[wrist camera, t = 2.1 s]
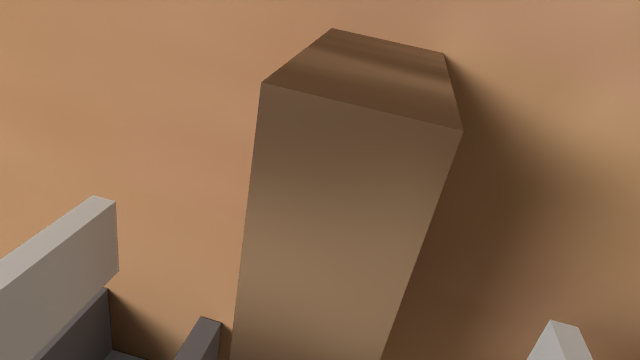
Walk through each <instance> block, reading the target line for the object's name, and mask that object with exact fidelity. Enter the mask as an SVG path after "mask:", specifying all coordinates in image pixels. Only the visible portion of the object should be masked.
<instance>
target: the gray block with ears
mask: <svg viewBox="0 0 640 360" xmlns="http://www.w3.org/2000/svg"><path fill="white" fill-rule="evenodd" d="M220 330H221V323H220V322H217V321H213V320H210V319H207V318H203V317H200V318H199V320H198V321H197V323H196V324H195V326H194V328H193V329H192V331H191V333H190V334H189V336H188V337H187V339H186V341H185V342H184V344H183V345H182V347H181V349H180V350H179V352H178V354H177V355H176V357H175V358H174V360H218V352H219V341H220ZM31 360H144V359H141V358H138V357H135V356H132V355H128V354H125V353H122V352H119V351H116V350H113V348H112V336H111V324H110V312H109V300H108V289H106V288H102V289H101V290H100V291H99V292H98V293H97V294H96V295H95V296H94V297H93V298H92V299H91V300H90V301H89V302H88V303H87V304H86V305H85V306H84V307H83V308H82V309H81V310H80V311H79V312H78V313H77V314H76V315H75V316H74V317H73V318H72V319H71V320H70V321H69V322H68V323H67V324H66V325H65V326H64V327H63V328H62V329H61V330H60V331H59V332H58V333H57V334H56V335H55V336H54V337H53V338H52V339H51V340H50V341H49V342H48V343H47V344H46V345H45V346H44V347H43V348H42V349H41V350H40V351H39V352H38V353H37V354H36V355H35V356H34V357H33V358H32V359H31Z"/></svg>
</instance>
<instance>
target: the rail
mask: <svg viewBox="0 0 640 360" xmlns="http://www.w3.org/2000/svg"><path fill="white" fill-rule="evenodd" d="M463 132H464V130H463V126H462V122H461V119H460V115H459V111H458V107H457V103H456V100H455V96H454V92H453V88H452V84H451V81H450V77H449V73H448V69H447V65H446V62H445V58H444V54H443V53H440V52H436V51H431V50H427V49H422V48H418V47H413V46H409V45H404V44H400V43H396V42H391V41H387V40H382V39H378V38H373V37H369V36H364V35H360V34H356V33H351V32H347V31H342V30H338V29H333V28H332V29H330V30H329V31H328V32H326V33H325V34H324V35H322V36H321V37H320V38H319V39H317V40H316V41H315V42H313V43H312V44H311V45H309V46H308V47H307V48H305V49H304V50H303V51H302V52H300V53H299V54H298V55H296V56H295V57H294V58H292V59H291V60H290V61H289V62H287V63H286V64H285V65H283V66H282V67H281V68H279V69H278V70H277V71H276V72H274V73H273V74H272V75H270V76H269V77H268V78H266V79H265V80H264V81H263V82H261V89H260V98H259V107H258V115H257V124H256V133H255V141H254V150H253V159H252V167H251V176H250V185H249V193H248V202H247V211H246V219H245V228H244V237H243V245H242V254H241V263H240V271H239V280H238V289H237V297H236V306H235V315H234V323H233V332H232V340H231V349H230V358H229V360H380V358H381V355H382V353H383V350H384V347H385V345H386V342H387V339H388V336H389V334H390V331H391V328H392V325H393V323H394V320H395V317H396V315H397V312H398V309H399V306H400V304H401V301H402V298H403V295H404V293H405V290H406V287H407V285H408V282H409V279H410V276H411V274H412V271H413V268H414V266H415V263H416V260H417V257H418V255H419V252H420V249H421V246H422V244H423V241H424V238H425V236H426V233H427V230H428V227H429V225H430V222H431V219H432V216H433V214H434V211H435V208H436V206H437V203H438V200H439V197H440V195H441V192H442V189H443V186H444V184H445V181H446V178H447V176H448V173H449V170H450V167H451V165H452V162H453V159H454V157H455V154H456V151H457V148H458V146H459V143H460V140H461V137H462V135H463Z"/></svg>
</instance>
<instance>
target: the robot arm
mask: <svg viewBox="0 0 640 360" xmlns="http://www.w3.org/2000/svg"><path fill="white" fill-rule="evenodd" d="M118 271H119V261H118V240H117V219H116V201H113V200H109V199H105V198H102V197H98V196H94V195H92V196H91V197H89V198H88V199H86V200H85V201H83V202H82V203H81V204H79V205H78V206H76V207H75V208H73V209H72V210H71V211H69V212H68V213H66V214H65V215H63V216H62V217H60V218H59V219H58V220H56V221H55V222H53V223H52V224H50V225H49V226H48V227H46V228H45V229H43V230H42V231H40V232H39V233H37V234H36V235H35V236H33V237H32V238H30V239H29V240H27V241H26V242H25V243H23V244H22V245H20V246H19V247H17V248H16V249H14V250H13V251H12V252H10V253H9V254H7V255H6V256H4V257H3V258H2V259H0V360H31V359H32V358H33V357H34V356H35V355H36V354H37V353H38V352H39V351H40V350H41V349H42V348H43V347H44V346H45V345H46V344H47V343H48V342H49V341H50V340H51V339H52V338H53V337H54V336H55V335H56V334H57V333H58V332H59V331H60V330H61V329H62V328H63V327H64V326H65V325H66V324H67V323H68V322H69V321H70V320H71V319H72V318H73V317H74V316H75V315H76V314H77V313H78V312H79V311H80V310H81V309H82V308H83V307H84V306H85V305H86V304H87V303H88V302H89V301H90V300H91V299H92V298H93V297H94V296H95V295H96V294H97V293H98V292H99V291H100V290H101V289H102V288H103V286H104V285H105V284H106V283H107V282H108V281H109V280H110V279H111V278H112V277H113V276H114V275H115V274H116V273H117V272H118ZM527 360H593V358H592V356H591V354H590V352H589V350H588V348H587V345H586V343H585V341H584V339H583V337H582V334H581V332H580V330H579V328H578V327H576V326H572V325H569V324H565V323H561V322H558V321H554V320H549V322H548V324H547V326H546V327H545V329H544V331H543V332H542V334H541V336H540V337H539V339H538V341H537V343H536V344H535V346H534V348H533V349H532V351H531V353H530V354H529V356H528V358H527Z"/></svg>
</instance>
